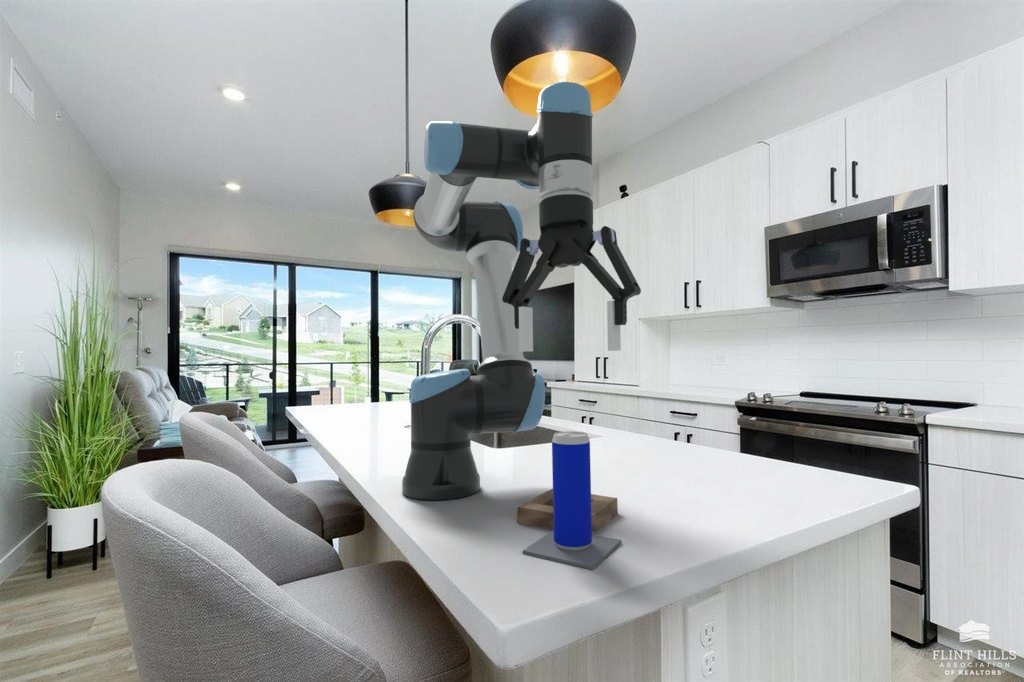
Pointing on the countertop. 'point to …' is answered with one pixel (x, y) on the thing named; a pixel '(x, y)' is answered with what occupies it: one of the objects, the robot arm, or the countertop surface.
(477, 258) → the robot arm
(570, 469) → the beverage can
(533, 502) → the walnut collar block
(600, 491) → the countertop surface
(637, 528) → the countertop surface
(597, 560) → the grey rubber mat
